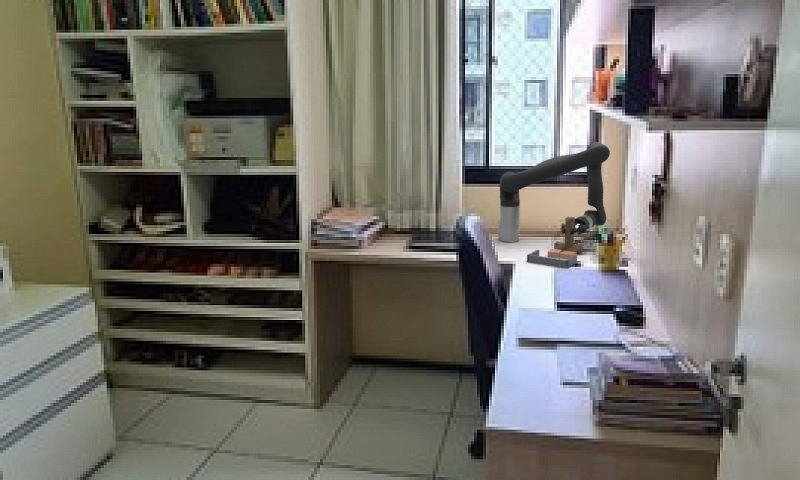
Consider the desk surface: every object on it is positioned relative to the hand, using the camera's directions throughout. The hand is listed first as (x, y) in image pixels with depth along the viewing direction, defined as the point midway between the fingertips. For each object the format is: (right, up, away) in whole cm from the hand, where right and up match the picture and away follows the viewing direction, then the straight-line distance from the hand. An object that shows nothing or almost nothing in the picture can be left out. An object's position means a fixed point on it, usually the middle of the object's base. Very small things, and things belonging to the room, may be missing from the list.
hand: (567, 232), depth 255 cm
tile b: (-1, -11, -3) cm, 12 cm away
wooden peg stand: (+2, -8, +4) cm, 10 cm away
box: (-9, -13, -9) cm, 18 cm away
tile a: (-5, -11, 0) cm, 12 cm away
